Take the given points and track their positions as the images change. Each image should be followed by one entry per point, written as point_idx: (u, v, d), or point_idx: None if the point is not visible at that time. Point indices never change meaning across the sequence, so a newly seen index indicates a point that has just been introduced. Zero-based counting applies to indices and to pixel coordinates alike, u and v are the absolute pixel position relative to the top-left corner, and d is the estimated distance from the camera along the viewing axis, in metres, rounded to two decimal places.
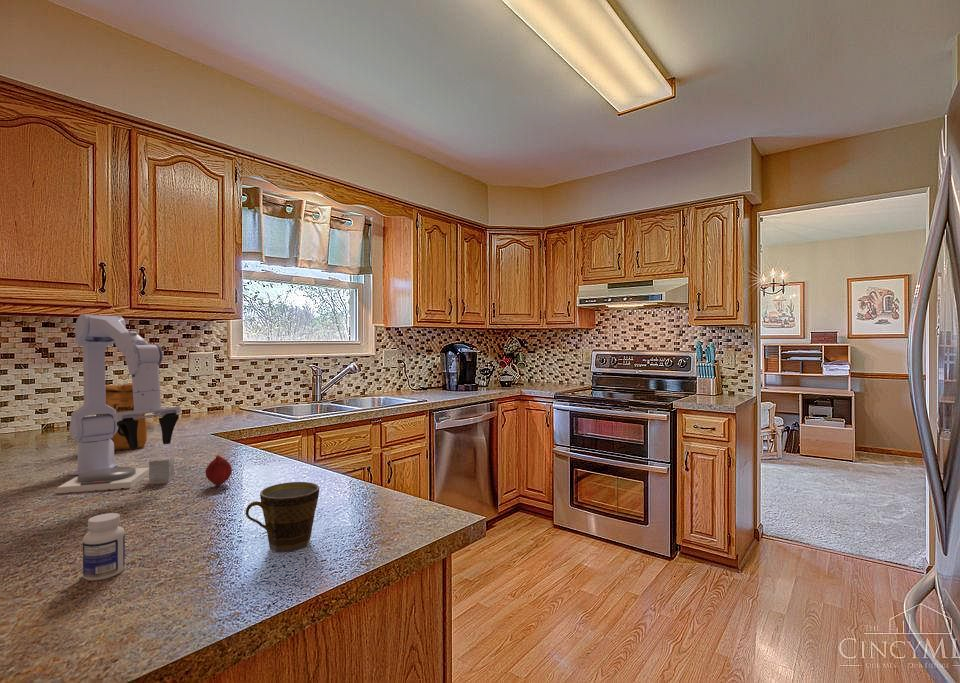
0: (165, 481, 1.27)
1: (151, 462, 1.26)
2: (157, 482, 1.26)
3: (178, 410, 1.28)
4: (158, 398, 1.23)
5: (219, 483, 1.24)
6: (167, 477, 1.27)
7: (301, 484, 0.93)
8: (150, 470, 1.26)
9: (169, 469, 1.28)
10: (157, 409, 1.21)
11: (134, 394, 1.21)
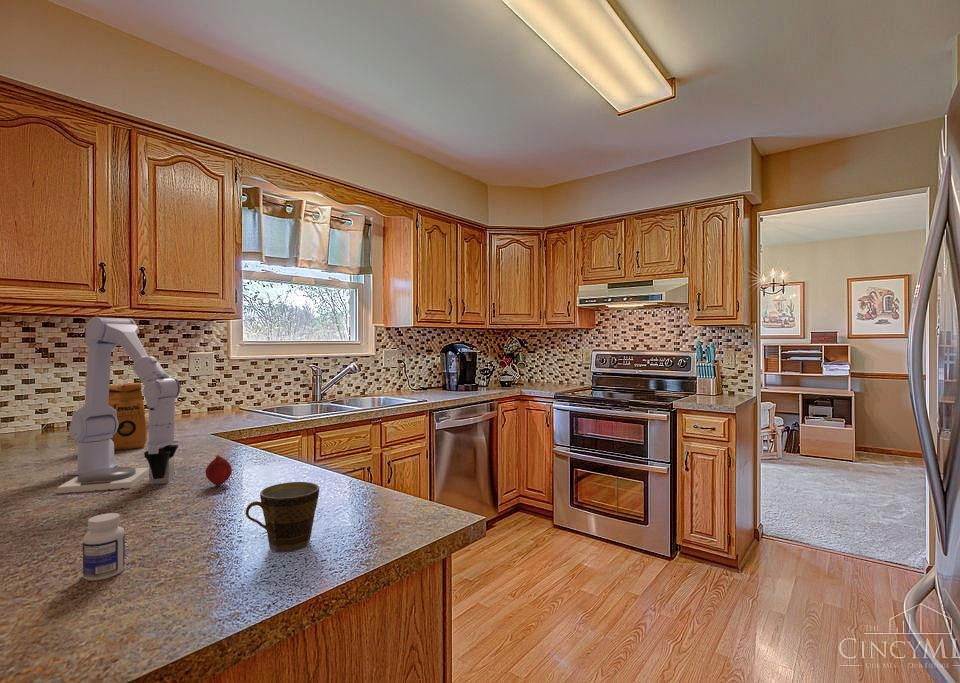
0: (165, 481, 1.27)
1: None
2: (157, 482, 1.26)
3: None
4: None
5: (219, 483, 1.24)
6: (167, 477, 1.27)
7: (301, 484, 0.93)
8: (150, 470, 1.26)
9: (169, 469, 1.28)
10: (179, 440, 1.30)
11: (158, 427, 1.26)
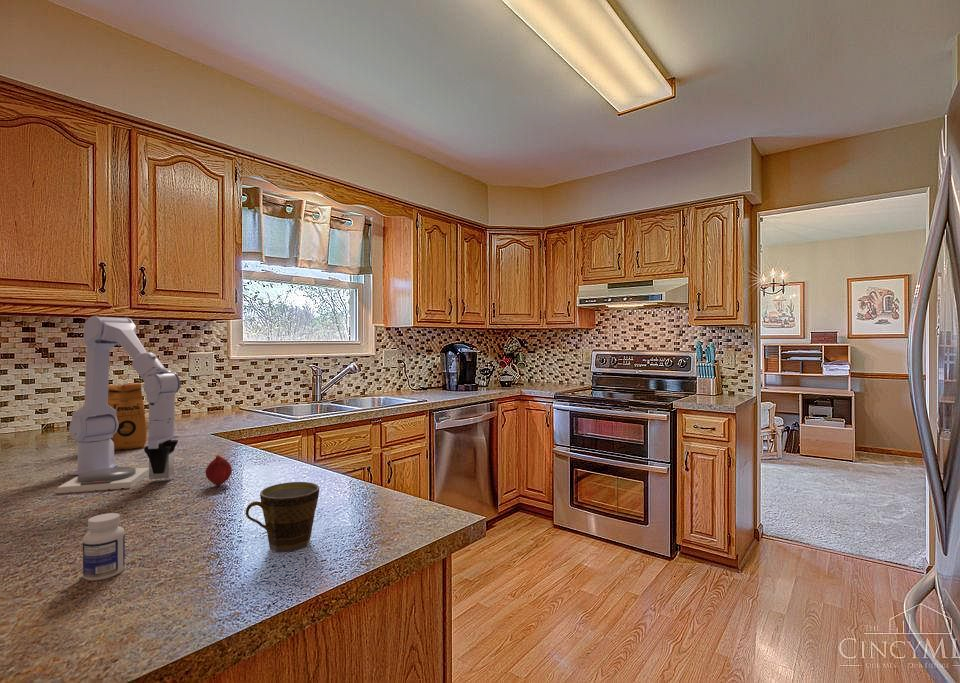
0: (165, 476, 1.27)
1: None
2: (157, 477, 1.26)
3: None
4: None
5: (219, 483, 1.24)
6: (167, 472, 1.27)
7: (301, 484, 0.93)
8: (150, 465, 1.26)
9: (169, 464, 1.28)
10: (179, 436, 1.30)
11: (158, 422, 1.26)
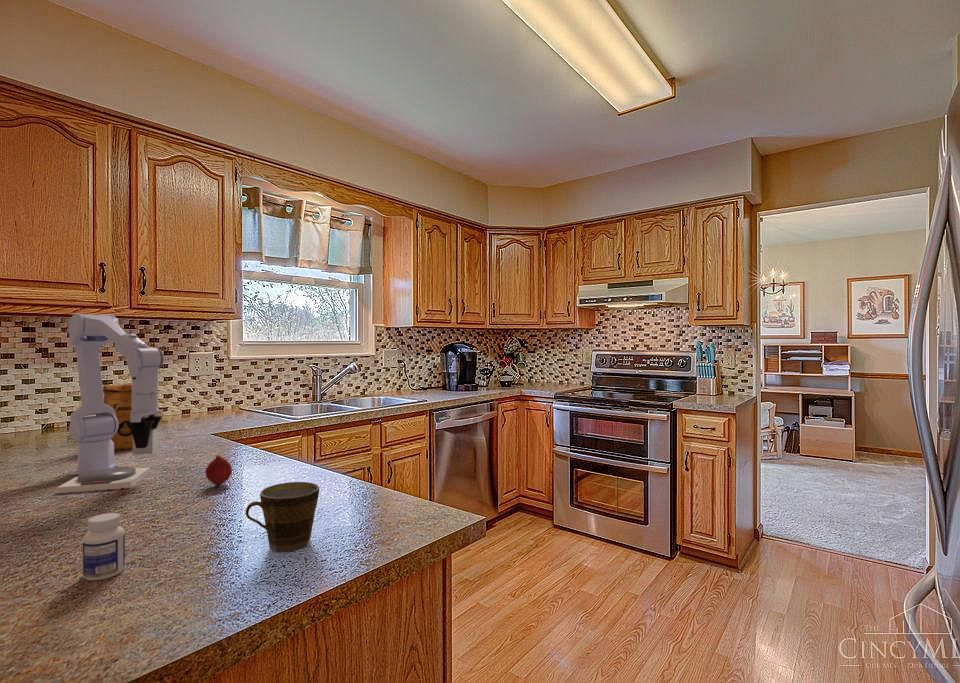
0: (149, 451, 1.27)
1: None
2: (141, 452, 1.26)
3: None
4: None
5: (219, 483, 1.24)
6: (151, 447, 1.27)
7: (301, 484, 0.93)
8: None
9: (153, 440, 1.28)
10: (162, 411, 1.30)
11: (141, 396, 1.26)
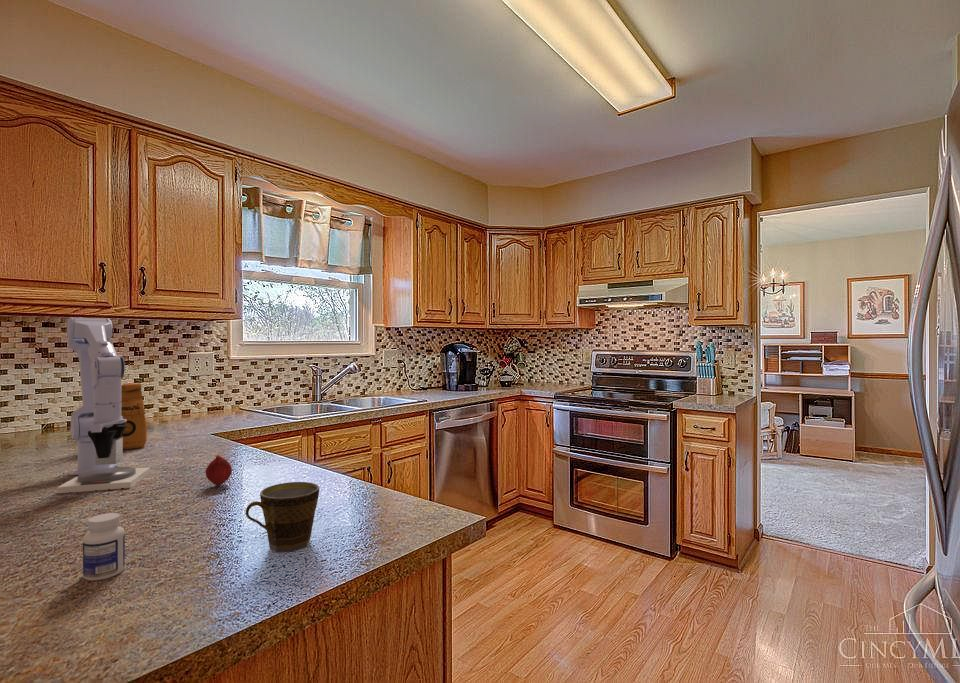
0: (112, 462, 1.26)
1: None
2: (104, 463, 1.25)
3: None
4: None
5: (219, 483, 1.24)
6: (114, 458, 1.26)
7: (301, 484, 0.93)
8: None
9: (117, 450, 1.27)
10: (125, 420, 1.29)
11: (103, 405, 1.25)
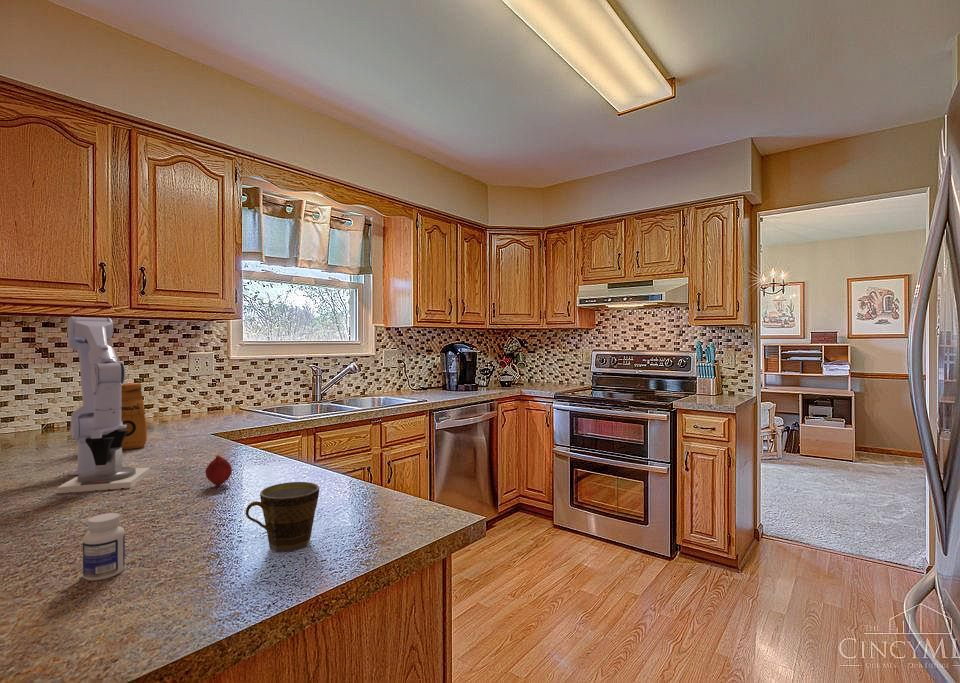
0: (111, 472, 1.26)
1: None
2: (103, 473, 1.25)
3: None
4: None
5: (219, 483, 1.24)
6: (114, 468, 1.26)
7: (301, 484, 0.93)
8: None
9: (116, 460, 1.27)
10: (125, 426, 1.29)
11: (103, 411, 1.25)
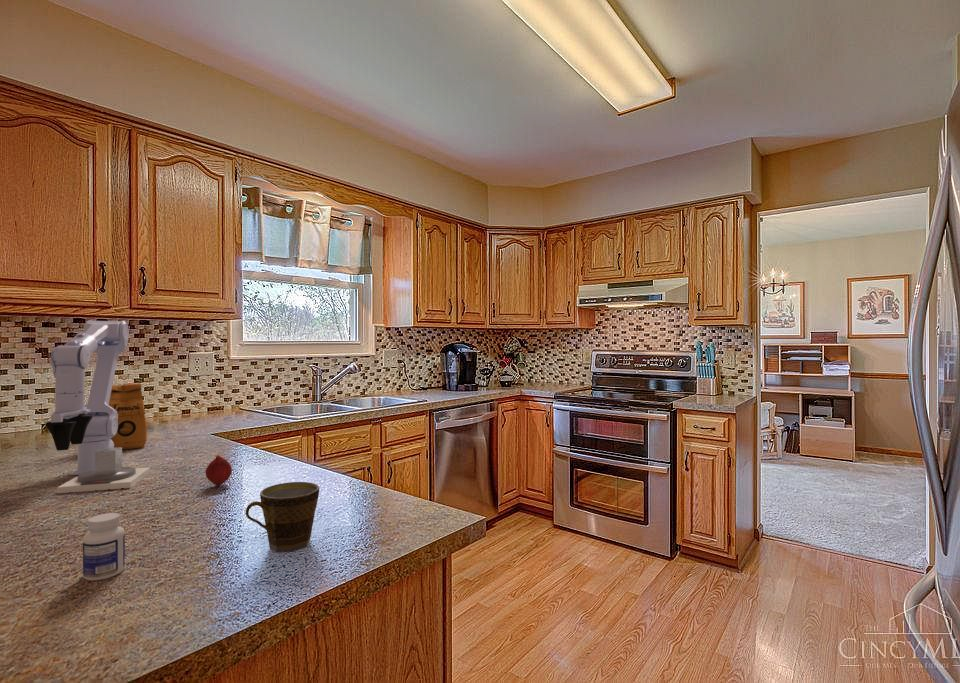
0: (111, 472, 1.26)
1: (97, 453, 1.25)
2: (103, 473, 1.25)
3: None
4: None
5: (219, 483, 1.24)
6: (114, 468, 1.26)
7: (301, 484, 0.93)
8: (96, 461, 1.25)
9: (116, 460, 1.27)
10: (89, 410, 1.25)
11: (64, 395, 1.21)
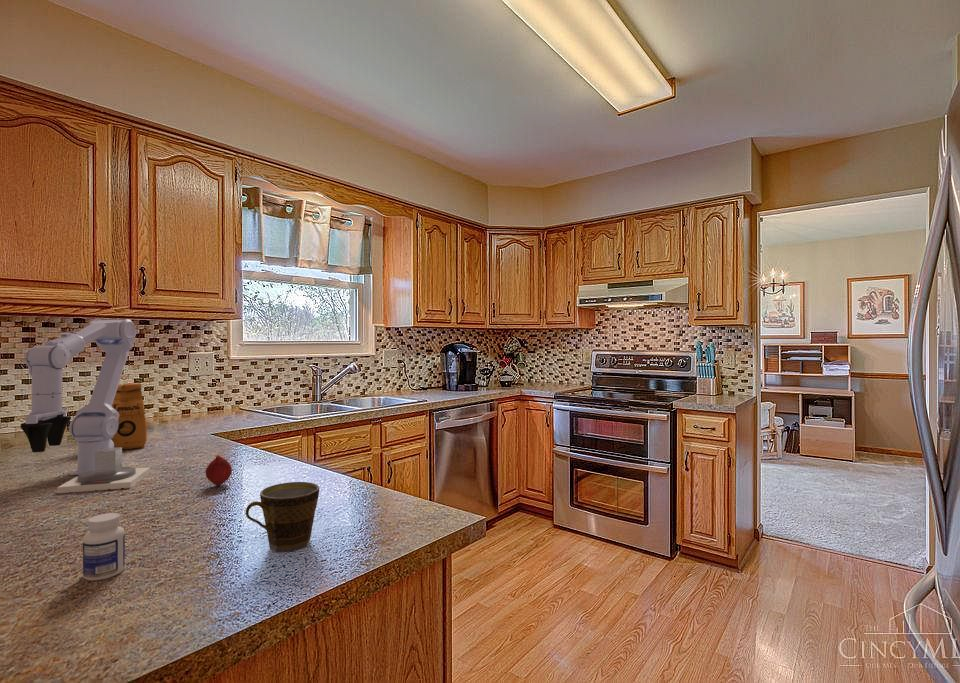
0: (111, 472, 1.26)
1: (97, 453, 1.25)
2: (103, 473, 1.25)
3: None
4: None
5: (219, 483, 1.24)
6: (114, 468, 1.26)
7: (301, 484, 0.93)
8: (96, 461, 1.25)
9: (116, 460, 1.27)
10: (66, 412, 1.23)
11: (40, 396, 1.19)
